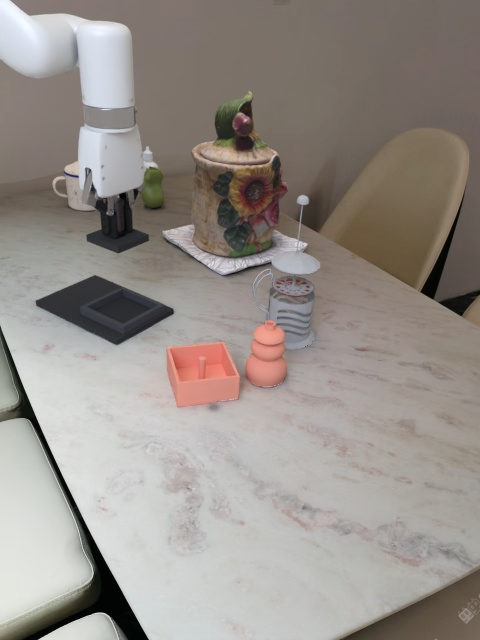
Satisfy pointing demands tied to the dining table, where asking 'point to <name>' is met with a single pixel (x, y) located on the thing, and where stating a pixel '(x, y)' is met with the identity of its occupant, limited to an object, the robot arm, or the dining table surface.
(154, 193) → the pear
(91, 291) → the base pad
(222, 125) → the cookie jar
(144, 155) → the eye dropper bottle
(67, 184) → the teacup with lid
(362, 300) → the dining table surface
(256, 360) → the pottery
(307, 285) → the french press
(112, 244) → the stud pad
